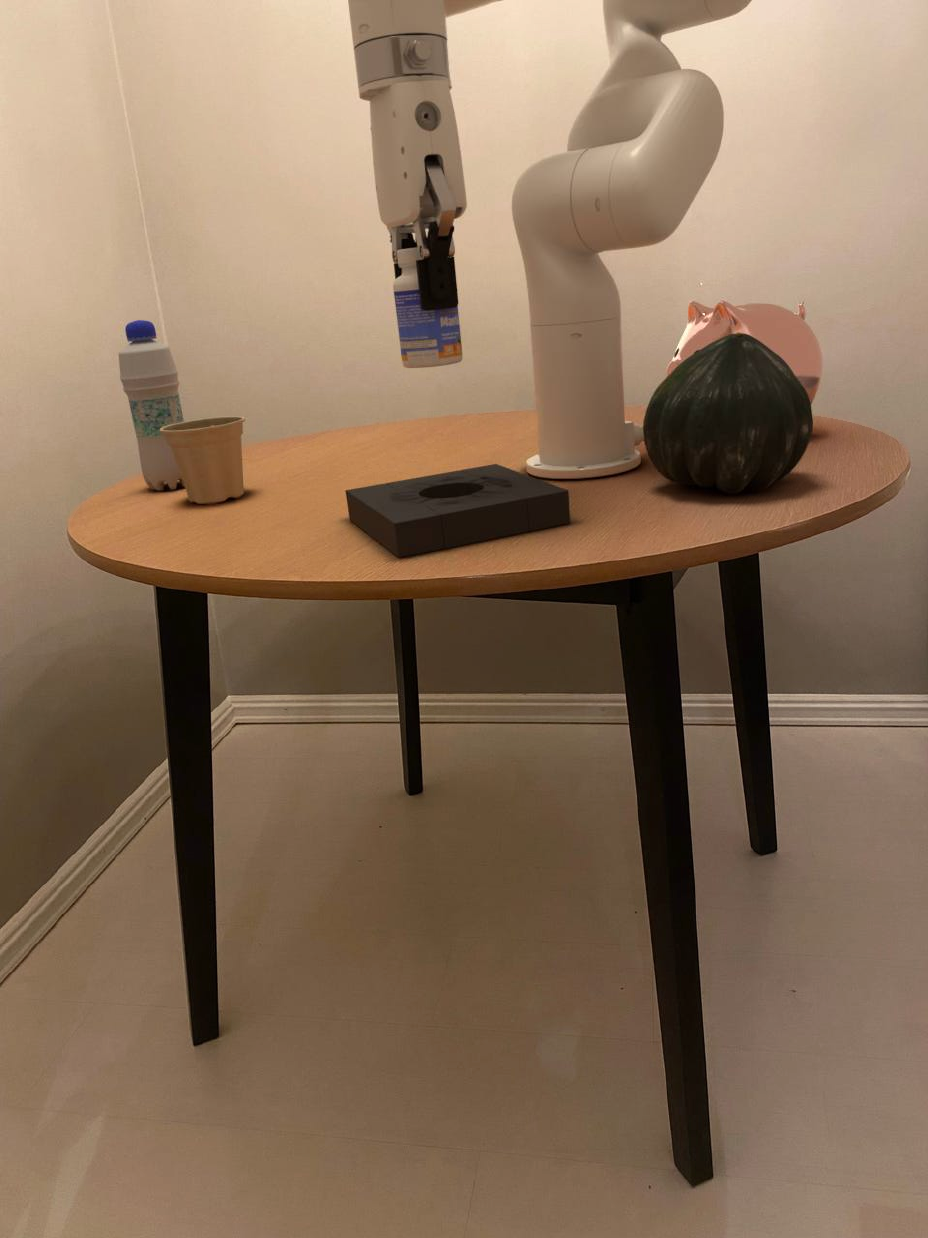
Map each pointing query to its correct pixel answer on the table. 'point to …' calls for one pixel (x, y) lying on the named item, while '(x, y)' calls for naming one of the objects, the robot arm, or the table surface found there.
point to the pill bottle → (423, 321)
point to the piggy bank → (756, 335)
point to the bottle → (151, 401)
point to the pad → (456, 508)
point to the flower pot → (208, 457)
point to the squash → (729, 418)
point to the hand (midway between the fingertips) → (427, 306)
